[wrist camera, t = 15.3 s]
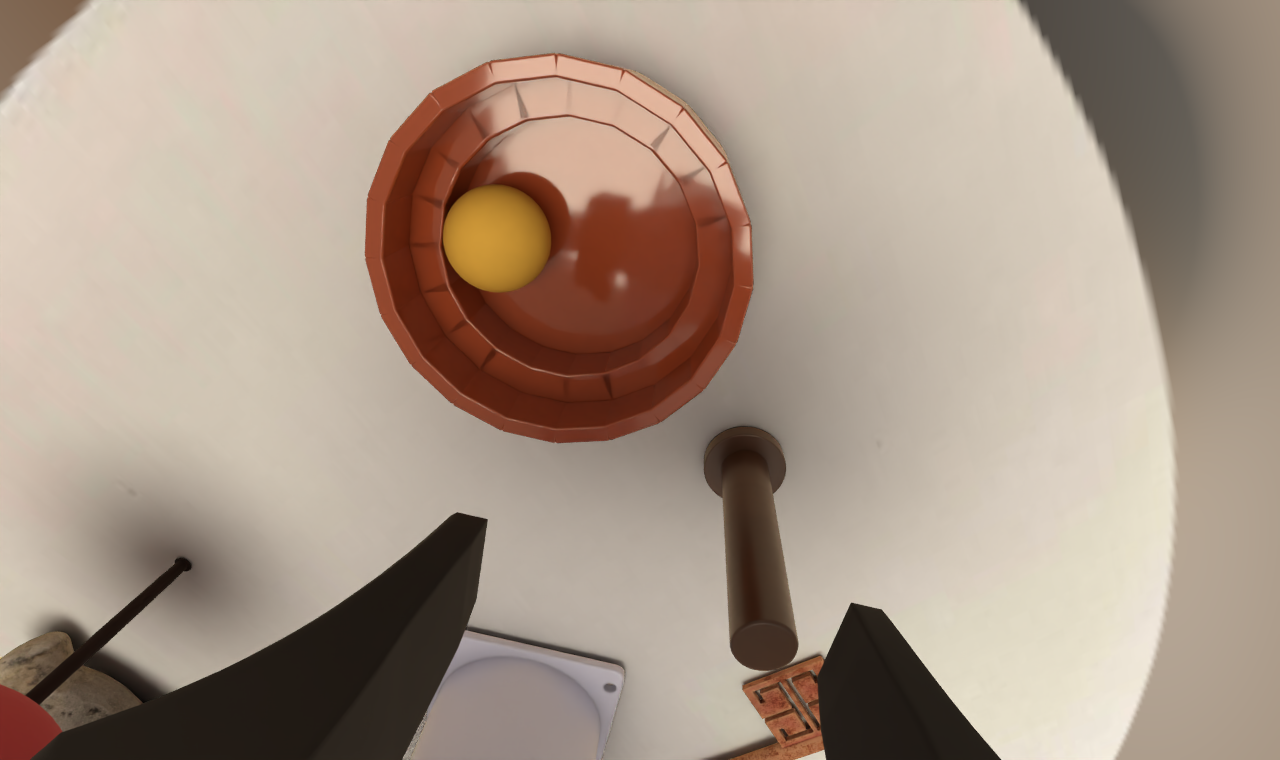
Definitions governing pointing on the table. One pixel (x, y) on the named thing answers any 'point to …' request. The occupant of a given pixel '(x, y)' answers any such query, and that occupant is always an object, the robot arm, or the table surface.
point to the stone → (78, 695)
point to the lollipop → (18, 726)
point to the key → (787, 712)
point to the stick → (753, 546)
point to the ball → (497, 238)
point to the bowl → (565, 248)
